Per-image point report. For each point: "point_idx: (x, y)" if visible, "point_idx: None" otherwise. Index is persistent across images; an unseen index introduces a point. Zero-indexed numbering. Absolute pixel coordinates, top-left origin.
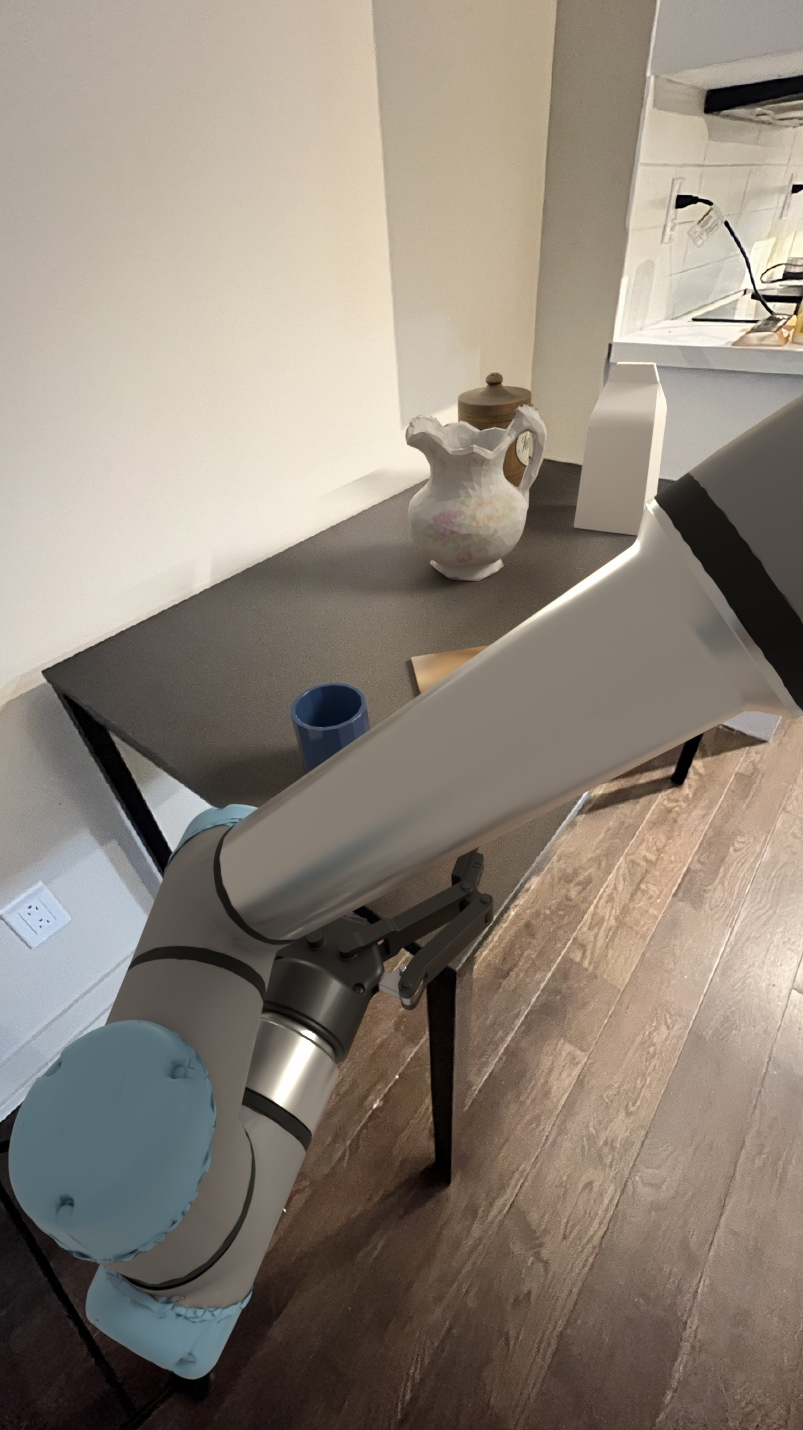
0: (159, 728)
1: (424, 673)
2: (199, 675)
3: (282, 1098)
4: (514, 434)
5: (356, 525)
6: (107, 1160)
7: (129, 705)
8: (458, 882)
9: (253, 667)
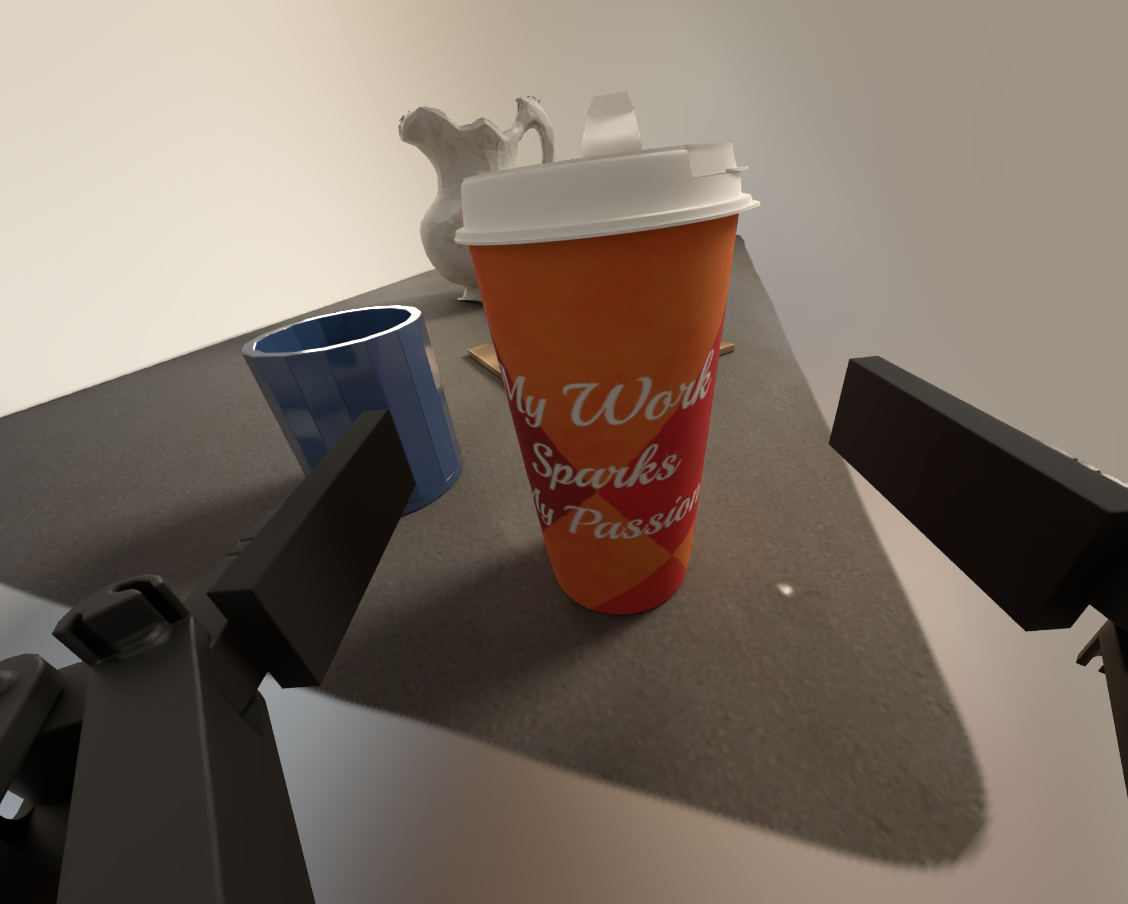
0: None
1: (494, 356)
2: (119, 434)
3: None
4: (522, 126)
5: (366, 297)
6: None
7: None
8: (1121, 548)
9: (224, 407)
